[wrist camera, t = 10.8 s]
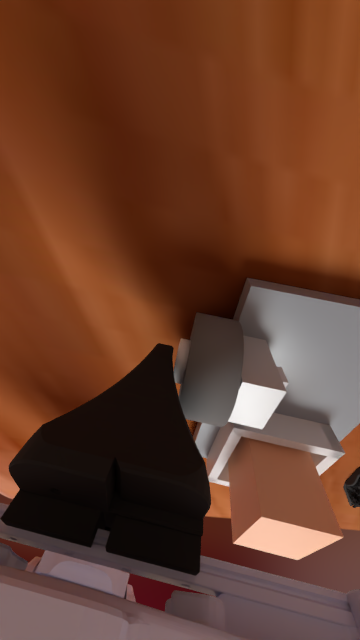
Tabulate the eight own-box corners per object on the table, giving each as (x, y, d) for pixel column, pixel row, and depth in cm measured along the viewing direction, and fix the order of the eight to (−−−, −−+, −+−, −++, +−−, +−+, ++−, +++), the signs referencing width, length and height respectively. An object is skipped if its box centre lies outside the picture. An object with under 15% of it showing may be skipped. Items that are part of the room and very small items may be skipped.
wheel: (253, 379, 15) (274, 464, 10) (177, 362, 16) (159, 437, 11) (286, 313, 12) (338, 388, 7) (190, 294, 13) (175, 353, 8)
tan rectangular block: (274, 462, 19) (297, 560, 13) (227, 451, 19) (232, 543, 14) (300, 430, 16) (343, 537, 11) (245, 417, 16) (261, 516, 11)
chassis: (293, 463, 21) (317, 538, 16) (192, 439, 21) (186, 505, 17) (433, 313, 11) (589, 387, 7) (246, 277, 12) (269, 322, 7)
